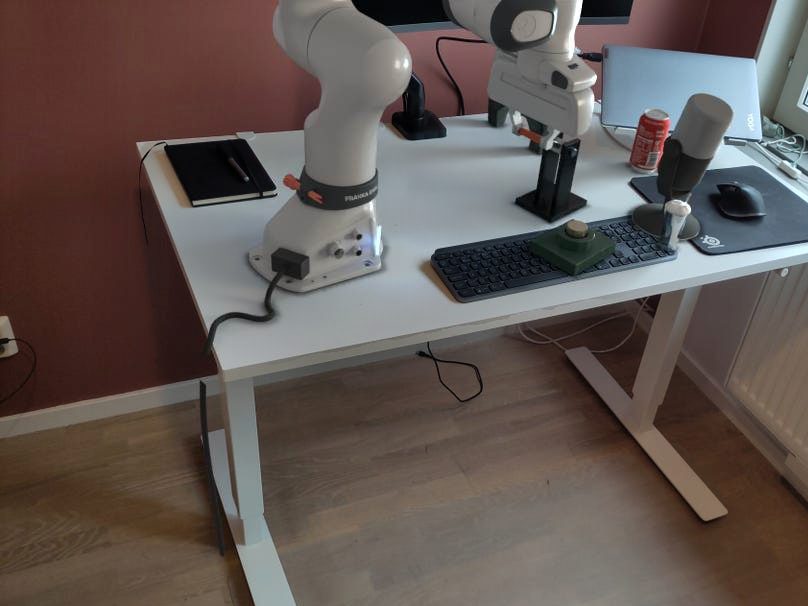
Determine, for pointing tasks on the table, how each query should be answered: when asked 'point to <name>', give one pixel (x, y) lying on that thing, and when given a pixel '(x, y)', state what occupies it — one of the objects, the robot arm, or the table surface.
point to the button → (576, 229)
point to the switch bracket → (556, 197)
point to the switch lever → (556, 143)
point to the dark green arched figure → (500, 111)
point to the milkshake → (673, 223)
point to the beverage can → (649, 140)
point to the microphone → (686, 159)
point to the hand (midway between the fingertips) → (531, 141)
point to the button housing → (572, 249)
